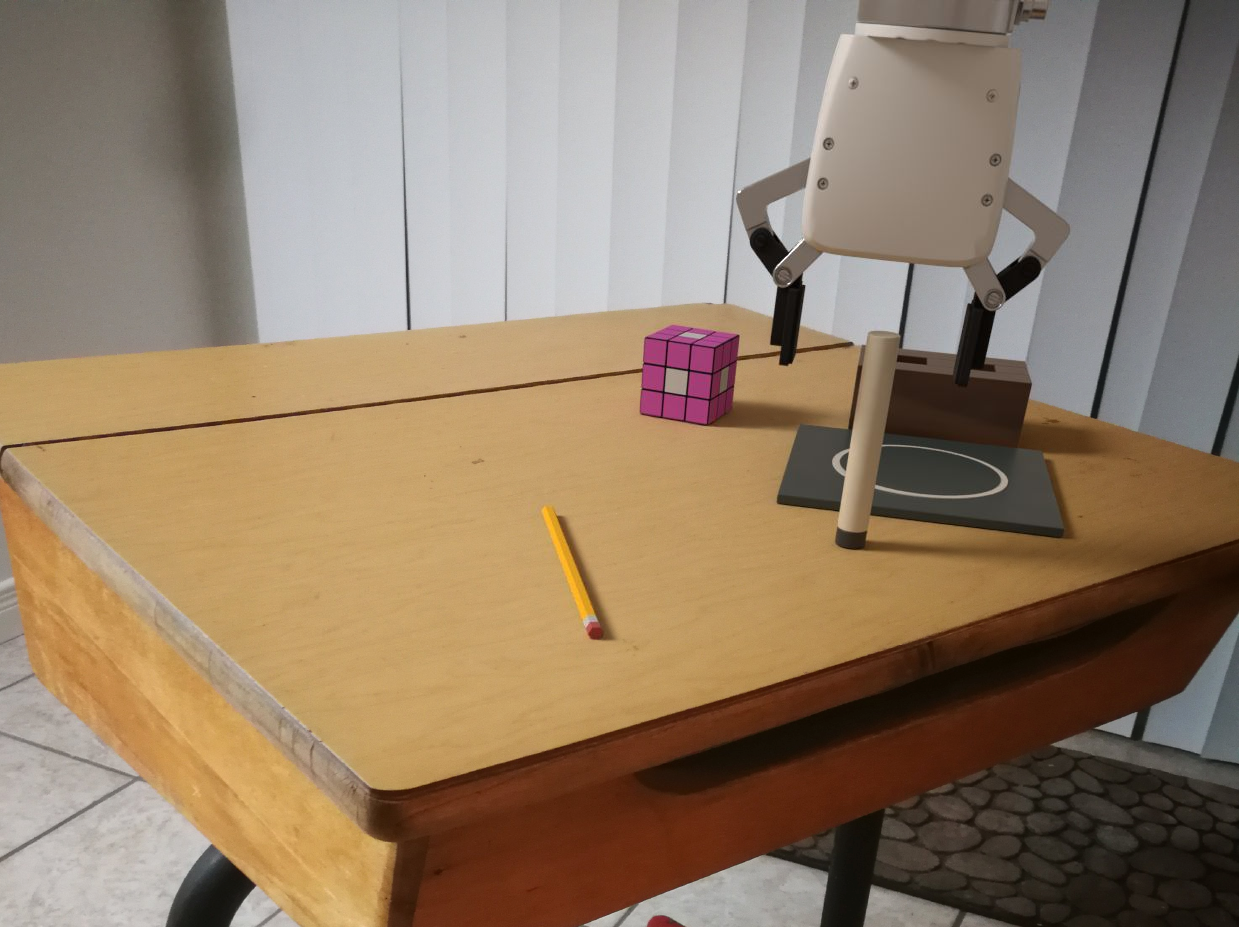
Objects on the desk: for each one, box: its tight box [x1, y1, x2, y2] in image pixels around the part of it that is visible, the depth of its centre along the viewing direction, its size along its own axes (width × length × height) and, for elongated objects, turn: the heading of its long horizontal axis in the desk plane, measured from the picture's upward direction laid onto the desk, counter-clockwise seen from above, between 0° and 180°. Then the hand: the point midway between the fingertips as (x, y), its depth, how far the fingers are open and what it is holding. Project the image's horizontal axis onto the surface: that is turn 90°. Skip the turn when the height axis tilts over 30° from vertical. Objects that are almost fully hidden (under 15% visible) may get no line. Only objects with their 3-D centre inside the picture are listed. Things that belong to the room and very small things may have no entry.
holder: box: [847, 344, 1033, 448], centre depth 99 cm, size 8×13×5 cm, turn 78°
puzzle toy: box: [639, 324, 741, 426], centre depth 99 cm, size 6×6×6 cm
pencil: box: [541, 505, 604, 640], centre depth 71 cm, size 1×18×1 cm, turn 10°
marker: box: [834, 330, 901, 550], centre depth 74 cm, size 2×2×12 cm
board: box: [776, 423, 1065, 538], centre depth 89 cm, size 18×18×1 cm
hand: (872, 371), depth 72 cm, fingers open, 9 cm apart
